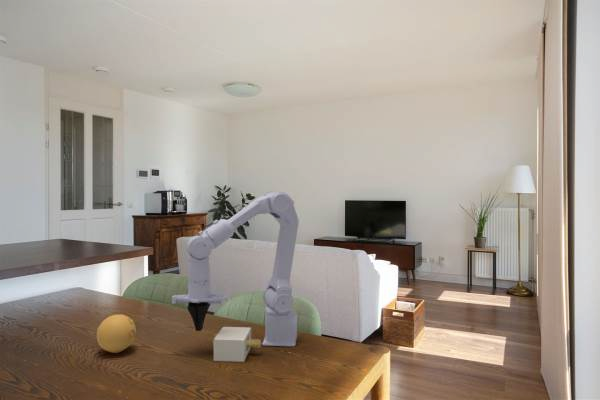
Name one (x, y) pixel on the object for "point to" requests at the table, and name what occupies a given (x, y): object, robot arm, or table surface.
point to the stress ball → (116, 333)
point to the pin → (249, 343)
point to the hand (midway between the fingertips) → (199, 329)
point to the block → (231, 344)
